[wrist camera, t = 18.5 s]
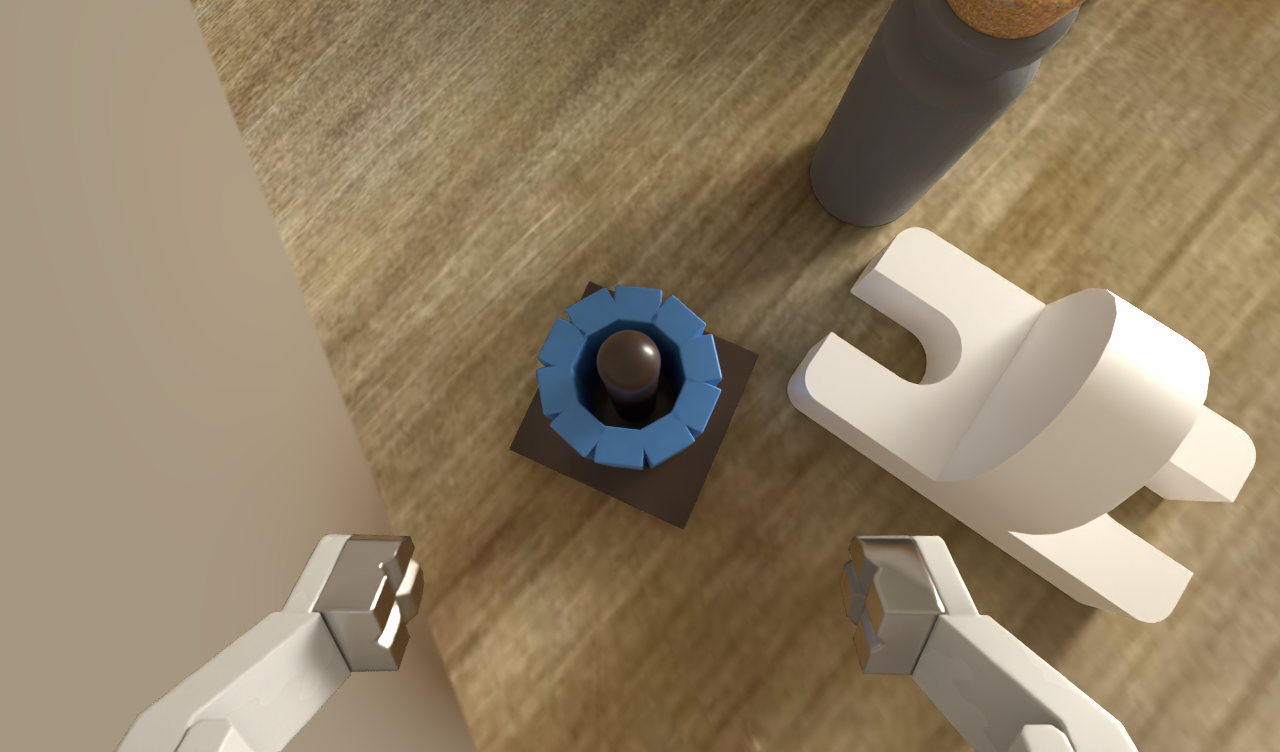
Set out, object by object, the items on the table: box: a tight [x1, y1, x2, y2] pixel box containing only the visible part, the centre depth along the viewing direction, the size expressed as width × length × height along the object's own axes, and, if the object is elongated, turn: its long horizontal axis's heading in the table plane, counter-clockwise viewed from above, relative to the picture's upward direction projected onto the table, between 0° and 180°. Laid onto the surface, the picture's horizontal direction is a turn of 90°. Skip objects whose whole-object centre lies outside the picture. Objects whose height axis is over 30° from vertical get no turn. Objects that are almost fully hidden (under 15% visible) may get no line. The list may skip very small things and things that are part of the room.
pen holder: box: [536, 285, 722, 470], centre depth 26 cm, size 6×7×8 cm
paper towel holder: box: [510, 282, 758, 529], centre depth 25 cm, size 9×9×13 cm
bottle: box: [811, 0, 1086, 227], centre depth 26 cm, size 6×6×15 cm
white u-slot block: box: [787, 227, 1256, 623], centre depth 26 cm, size 10×18×10 cm, turn 55°
